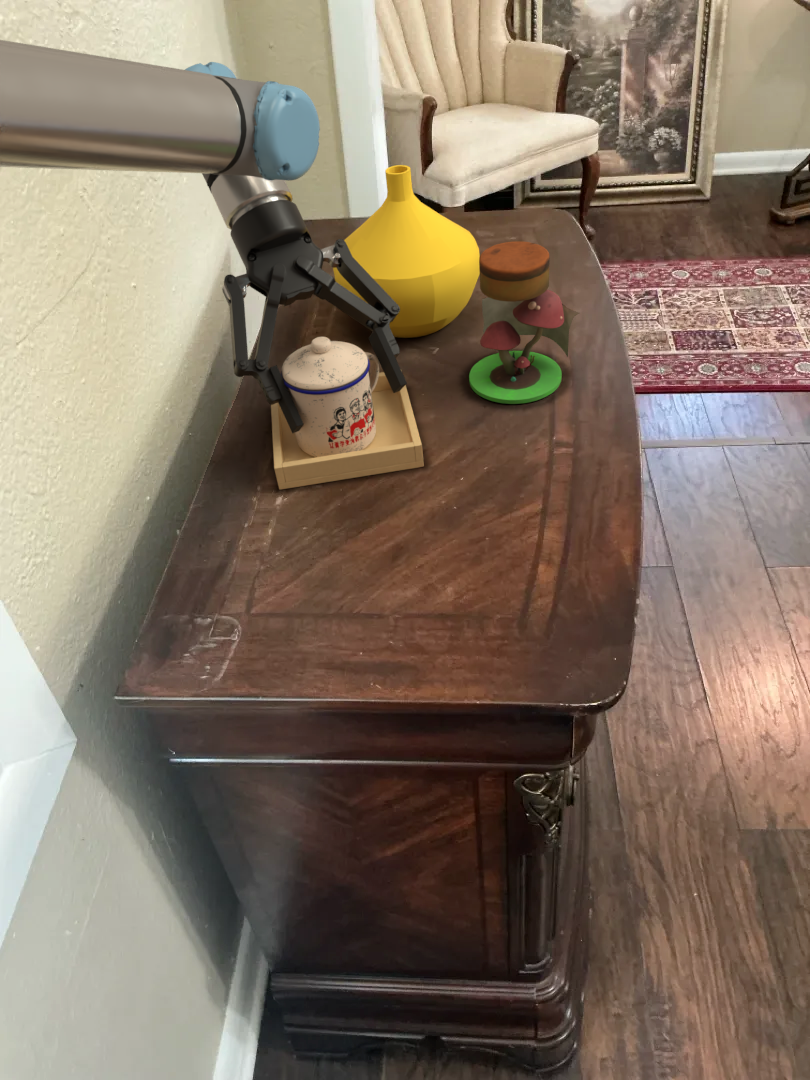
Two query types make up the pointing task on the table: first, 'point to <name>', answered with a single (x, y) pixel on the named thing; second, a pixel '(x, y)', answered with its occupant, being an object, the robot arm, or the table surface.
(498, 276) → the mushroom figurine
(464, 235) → the vase
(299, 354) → the teacup with lid
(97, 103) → the robot arm
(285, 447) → the wooden tray
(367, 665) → the table surface
